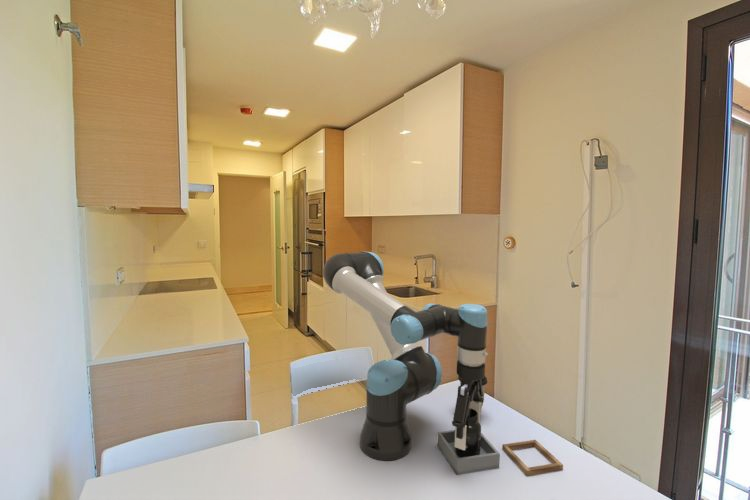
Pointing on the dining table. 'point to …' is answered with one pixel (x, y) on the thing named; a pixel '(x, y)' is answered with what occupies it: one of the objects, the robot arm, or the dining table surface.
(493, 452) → the bin
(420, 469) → the dining table surface
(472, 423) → the supplement bottle
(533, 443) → the wooden square frame
